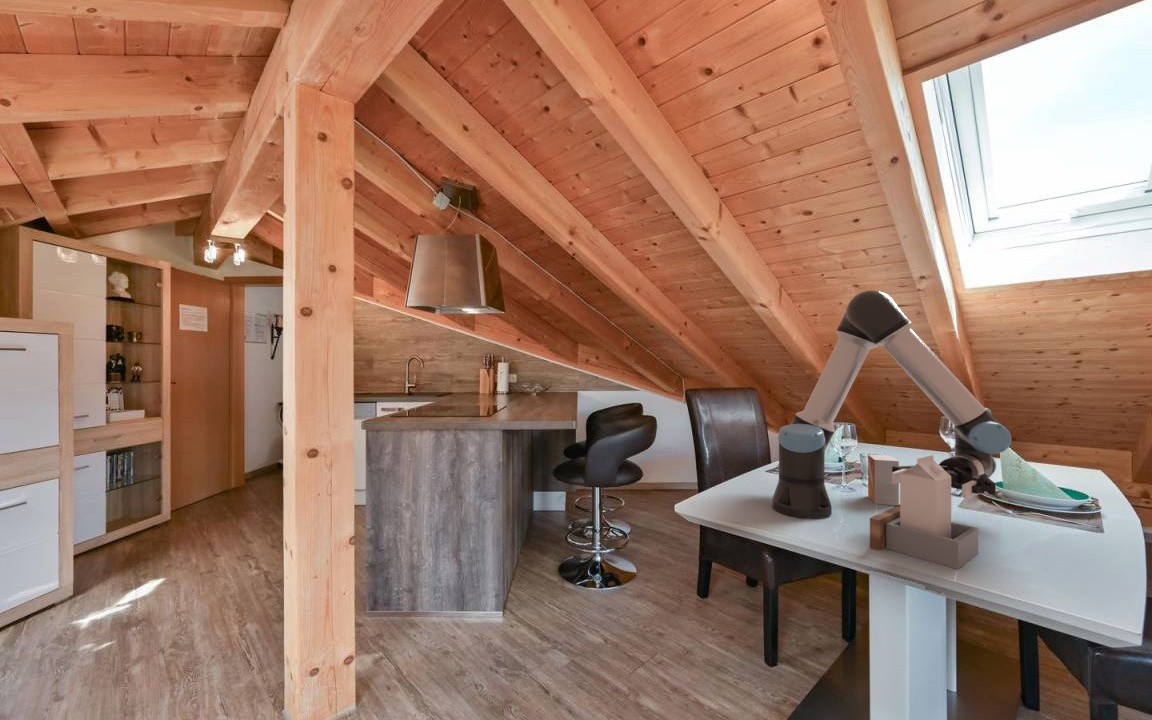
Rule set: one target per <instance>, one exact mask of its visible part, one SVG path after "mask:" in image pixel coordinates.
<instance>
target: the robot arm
mask: <svg viewBox="0 0 1152 720" xmlns="http://www.w3.org/2000/svg"><path fill="white" fill-rule="evenodd" d="M911 326H912V321H911V320H910V319H909V318H908V316H907V315H906V314H905V313H904V312H903V311H902V310H901V308H900V307H899V306H898V304H897V303H896V302H895V300H894V299H893V298H892V297H891V296H890V295H889V294H887V293H885V292H882V291H880V290H876V289H875V290H874V289H873V290H865V291H863V292H859V293H858V294H856V295H855V296H853V297H852V298H851V300H850V301H849V303H848V305H847V308H846V310H845V312H844V315H843V316H842V319H841V320H840V323H839V325H838V327H837V329H836V331H835V333H836V335H837V337H838V340H836V341H837V342H836V344H835V345H834V348H833V349H832V352H831V354H830V355H829V357H828V360H827V362H826V363H825V366H824V368H823V370H822V372H821V374H820V376H819V377H818V380H817V382H816V384H815V387H814V388H813V390H812V392H811V394H810V396H809V399H808V401H807V402H806V404H805V407H804V408H803V410H802V411H799V412H796V413H795V415H794V417H793V418H792V420H791V423H790V424H786V425H783V426H782V427H780V428H779V430H778V431H779V432H778V436H777V440H778V482H777V485H776V487H775V491H774V493H773V496H772V501H771V502H772V503H771V507H772V509H774V510H775V511H776V512H778V513H780V514H784V515H786V516H787V515H788V516H790V517H796V518H801V519H823V518H828V517H830V516H832V514H833V513H832V509H833V507H832V503H831V499H830V497H829V495H828V491H827V489H826V486H825V485H826V484H825V458H826V456H825V454H826V450H827V448H828V445H829V444H830V442H831V440H832V438H833V436H834V434H835V431H836V429H835V427H834V425H833V424H834V421H835V419H836V417H837V415H838V413H839V412H840V411H841V410H840V409H841V408H842V405H843V403H844V402H845V399H846V397H847V396H848V394H849V391H850V390H851V387H852V385H853V384H854V382H855V379H856V378H857V377H858V375H859V373H860V370H861V368H862V366H863V364H864V362H865V361H866V358H867V356H868V354H869V352H870V350H873V349H875V348H878V347H883V349H885V351H886V352H887V353H888V354H889V355H890V356H891V357H892V358H893V360H895V361H894V362H896V363H897V364H898V366H900V368H902V369H903V371H904V372H905V373H906V374H907V375H908V376H909V377H910V379H912V382H914V383H915V384H916V386H917V387H919V388H920V390H921V391H922V392H923V393H924V394H925V395H926V396H927V398H928V399H930V401H931V402H932V404H934V405H935V406H936V407H937V409H939V411H940V412H941V413H942V414H943V415H944V416H945V418H946V419H947V420H948V421H949V422H950V423H951V424H952V425H953V426H954V456H951V457H949V458H946V459H943V460H942V461H941V462H940V463H938V464H939V465H940V466H941V467H942V468H943V469H944V470H945V471H946V472H947V473H948V474H949V475H950V476H951V489H956V490H957V489H958V490H961V498H963V499H968V498H970V497H972V496H974V495H977V494H981V495H982V494H985V492H986V493H987V494H989V495H991V496H996V494H997V493H996V492H997V491H996V489H997V488H996V486H997V485H996V483H995V482H994V481H993V480H992V479H990V477H992V475H993V474H994V473H995V472H996V470H997V462H996V460H995V458H994V457H993V455H996V454H1000V453H1004V452H1005V451H1007V449H1009V448H1010V446H1011V444H1012V434H1011V432H1010V431H1009V430H1008V429H1007V428H1006V427H1005V425H1003V424H1001V423H1000V422H998V421H997V420H996V418H994V416H993V415H992V410H991V409H989V408H988V407H984V405H982V403H980V401H979V400H978V399H977V398H976V397H975V396H974V394H972V393H971V392H970V391H969V389H968V388H967V387H966V386H965V385H964V383H962V382H961V380H960V379H958V378H957V377H956V375H954V373H953V372H952V371H951V370H950V369H949V368H948V367H947V366H946V365H945V363H944V362H943V361H941V359H940V358H939V356H937V354H935V353H934V352H933V350H932V349H931V348H929V347H930V346H928V345H927V344H926V343H925V342H924V341H923V340H922V339H921V338H920V337H919V335H917V334H916V332H914V330H913V329H912V327H911ZM913 466H914V465H913V464H912V465H899V466H892V484H898V483H899V484H900V474H901V473H902V472H904V471H906V470H907V469H909V468H911V467H913Z"/></svg>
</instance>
